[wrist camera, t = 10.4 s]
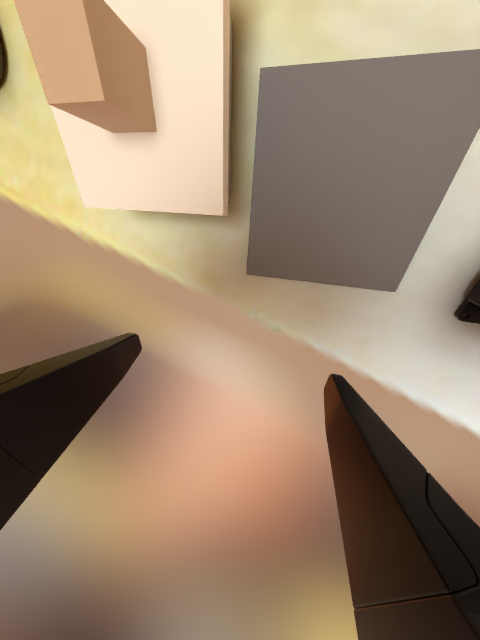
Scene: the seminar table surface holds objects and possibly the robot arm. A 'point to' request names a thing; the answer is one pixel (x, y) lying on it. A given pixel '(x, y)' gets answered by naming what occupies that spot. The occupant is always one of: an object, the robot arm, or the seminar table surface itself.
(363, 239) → the mat
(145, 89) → the lid
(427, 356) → the seminar table surface
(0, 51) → the supplement bottle
